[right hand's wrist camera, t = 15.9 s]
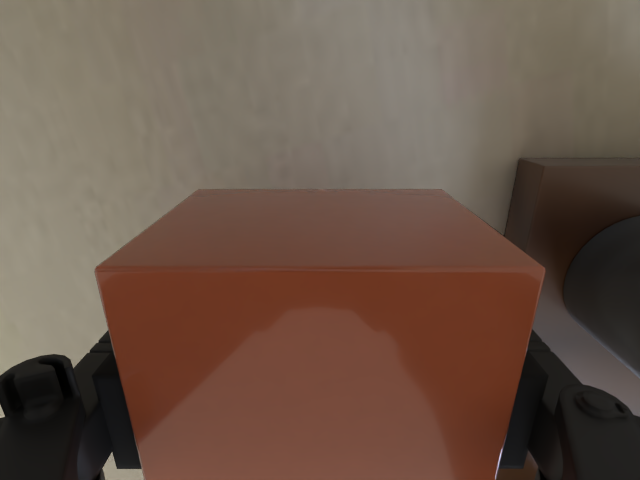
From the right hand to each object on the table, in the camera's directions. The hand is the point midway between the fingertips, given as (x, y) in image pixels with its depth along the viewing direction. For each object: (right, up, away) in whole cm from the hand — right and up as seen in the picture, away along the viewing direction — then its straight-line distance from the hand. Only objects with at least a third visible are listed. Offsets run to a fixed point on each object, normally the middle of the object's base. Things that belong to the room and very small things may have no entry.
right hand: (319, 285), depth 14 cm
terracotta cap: (0, 0, -1) cm, 1 cm away
